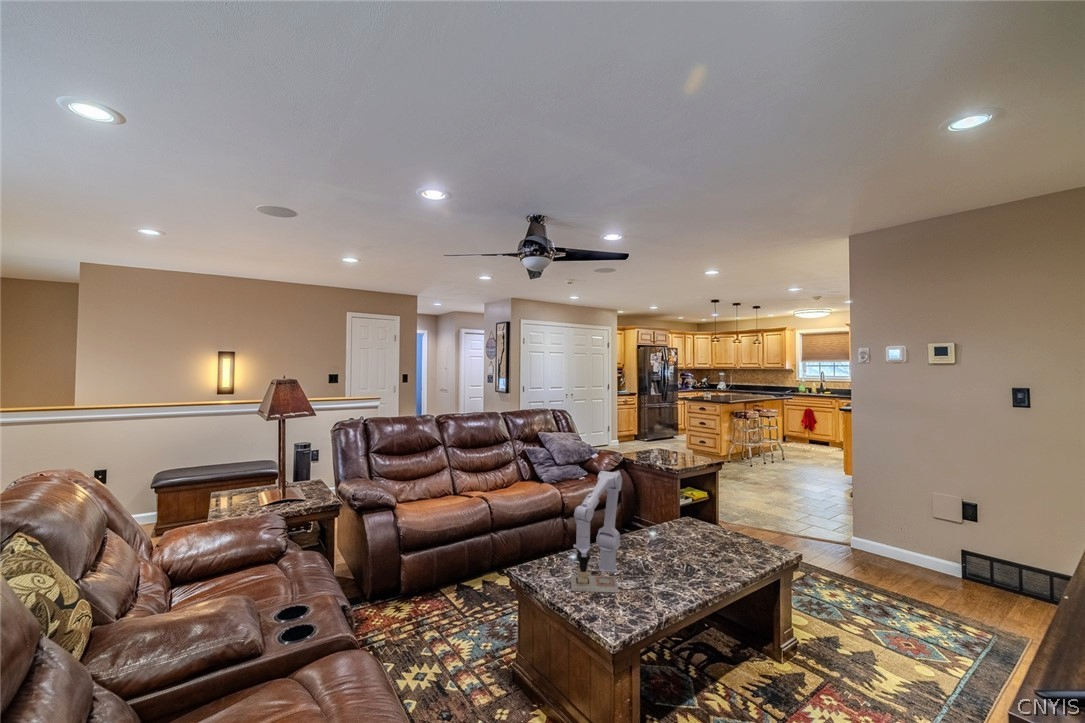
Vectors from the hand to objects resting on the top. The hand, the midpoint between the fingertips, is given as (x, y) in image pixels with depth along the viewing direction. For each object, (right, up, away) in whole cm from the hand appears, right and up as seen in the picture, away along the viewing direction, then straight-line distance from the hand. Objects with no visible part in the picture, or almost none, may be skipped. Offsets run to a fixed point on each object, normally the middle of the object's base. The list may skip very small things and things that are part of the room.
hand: (582, 567), depth 189 cm
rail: (+5, -8, 0) cm, 9 cm away
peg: (0, -8, 0) cm, 8 cm away
